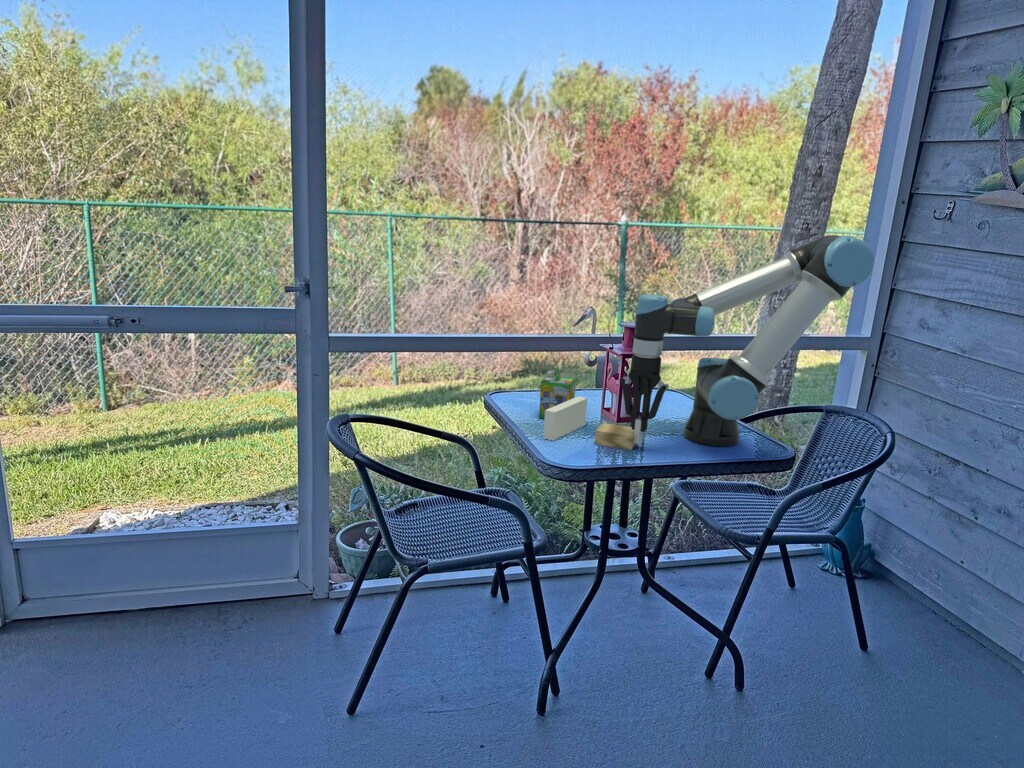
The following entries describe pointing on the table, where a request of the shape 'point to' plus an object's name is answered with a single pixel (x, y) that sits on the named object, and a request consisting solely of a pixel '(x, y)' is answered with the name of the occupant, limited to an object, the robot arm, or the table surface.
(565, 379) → the chalk box
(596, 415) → the table surface
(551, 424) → the white board
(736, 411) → the robot arm
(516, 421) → the table surface
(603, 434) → the oak block
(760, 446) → the table surface
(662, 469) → the table surface
